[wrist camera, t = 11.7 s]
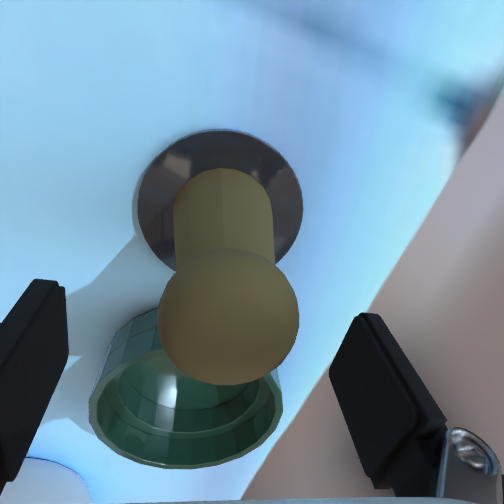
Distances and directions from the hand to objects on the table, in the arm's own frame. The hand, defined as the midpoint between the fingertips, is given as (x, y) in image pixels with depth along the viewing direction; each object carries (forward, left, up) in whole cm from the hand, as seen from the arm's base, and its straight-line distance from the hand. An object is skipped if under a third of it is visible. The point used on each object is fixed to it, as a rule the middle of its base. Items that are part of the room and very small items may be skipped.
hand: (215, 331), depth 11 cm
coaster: (+1, -1, -11) cm, 11 cm away
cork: (+1, -1, -11) cm, 11 cm away
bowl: (+1, -14, -11) cm, 18 cm away
